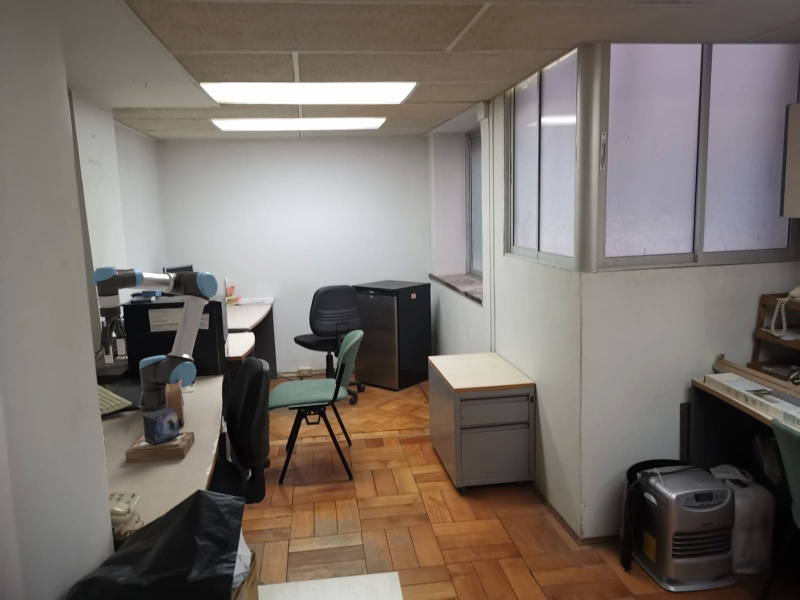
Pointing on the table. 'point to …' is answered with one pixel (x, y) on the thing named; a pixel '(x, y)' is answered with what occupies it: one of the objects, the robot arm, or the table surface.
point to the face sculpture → (175, 399)
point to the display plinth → (160, 449)
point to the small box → (161, 426)
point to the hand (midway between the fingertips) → (115, 358)
